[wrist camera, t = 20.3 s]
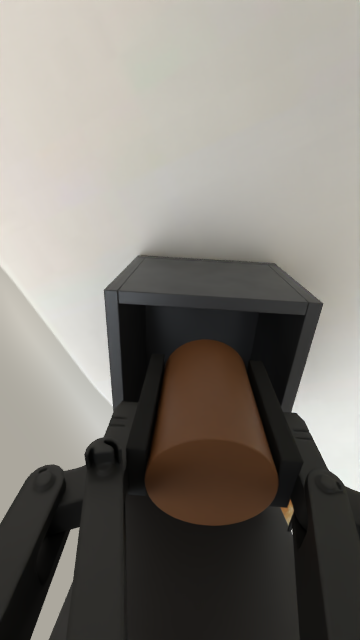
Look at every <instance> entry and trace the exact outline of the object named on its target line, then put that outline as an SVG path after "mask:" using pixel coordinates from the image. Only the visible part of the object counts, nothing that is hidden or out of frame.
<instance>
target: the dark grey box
mask: <svg viewBox="0 0 360 640" xmlns="http://www.w3.org/2000/svg"><path fill="white" fill-rule="evenodd" d="M104 297H105V310H106V322H107V335H108V348H109V360H110V373H111V386H112V398H113V411H114V409H115V408H116V407H117V406H118V405H119V404H120V402H121V401H128V402H139V398H140V395H141V391H142V387H143V384H144V380H145V377H146V373H147V369H148V366H149V362H150V359H151V355H152V354H165V359H164V368H165V364H166V362H167V360H168V358H169V356H170V355H171V354H172V353H173V352H174V351H175V350H176V349H177V348H179V347H180V346H182V345H183V344H185V343H188V342H191V341H195V340H201V339H209V340H215V341H219V342H222V343H225V344H226V345H228V346H230V347H231V348H233V349H234V350H235V351H236V352H237V353H238V354H239V355H240V356H241V358H242V360H243V362H244V364H245V367H246V371H247V369H248V363H249V360H256V361H262V362H263V365H264V367H265V369H266V372H267V374H268V377H269V379H270V381H271V384H272V386H273V389H274V391H275V394H276V396H277V398H278V401H279V403H280V406H281V408H282V411H283V412H288V413H291V411H292V407H293V404H294V401H295V397H296V394H297V391H298V387H299V384H300V380H301V377H302V374H303V370H304V367H305V363H306V360H307V357H308V353H309V350H310V347H311V343H312V340H313V336H314V333H315V330H316V326H317V323H318V319H319V316H320V313H321V309H322V306H323V303H322V302H321V301H320V300H318V299H317V298H316V297H315V296H313V295H312V294H311V293H310V292H309V291H307V290H306V289H305V288H304V287H303V286H301V285H300V284H299V283H298V282H297V281H295V280H294V279H293V278H292V277H290V276H289V275H288V274H287V273H286V272H284V271H283V270H282V269H281V268H280V267H278V266H277V265H276V264H275V263H259V262H242V261H225V260H207V259H190V258H173V257H155V256H137V257H136V258H135V259H134V260H133V261H132V262H131V263H130V264H129V265H128V266H127V267H126V268H125V269H124V270H123V271H122V272H121V273H120V274H119V275H118V276H117V277H116V278H115V279H114V280H113V281H112V282H111V283H110V284H109V285H108V287H107V288H106V289H105V290H104Z"/></svg>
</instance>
